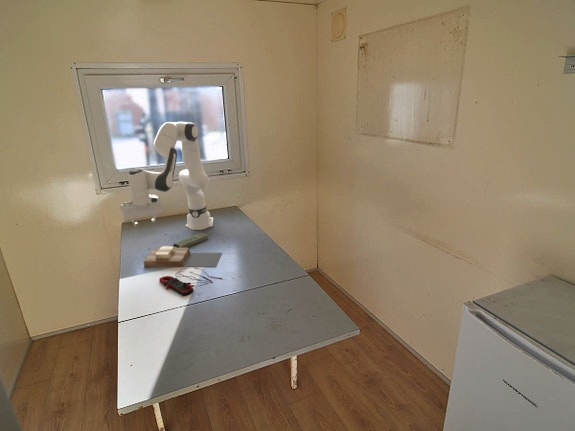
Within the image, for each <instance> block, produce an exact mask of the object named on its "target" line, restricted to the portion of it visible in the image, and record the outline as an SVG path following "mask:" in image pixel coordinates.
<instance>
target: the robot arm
mask: <svg viewBox="0 0 575 431" xmlns="http://www.w3.org/2000/svg"><path fill="white" fill-rule="evenodd" d="M199 132H200V131H199V128H198V126H197V124H195V123H194V122H190V121H189V122H187V121H177V122H176V121H175V122H172V121H171V122H170V121H168V122H164V123H163V124H162V125H161V127H160V128H159V129H158V132H157V134H156V137H155V138H154V142H153V148H154V149H155V150H154V151H156V152H157V153H158V154H159V155H160V156H162V157H164V158H165V160H164V161H165V162H164V166H163V170H162V171H160V172H156V171H149V170H145V168H142V167H137V168H132V169H130V170H129V171H128V176H127V177H128V180H127V181H128V187H129V190H130V197H131V198H130V200H131V201H126V202H122V203H121V204H120V205H119V208H120V211H121V217H122V219H123V220H124V221H131V222H132V223H133V226H134V227H138V226H139V224H138V222H137V221H136V222H135V219H139V218H146V217H151V216H153V217H152V219H151V223H152V224H154V223H156V219H157V217H158V216H157V215H161V214H163V213H164V207H163V204H162V202H161V201H160V198H159V196H157V194H150V191H159V192H164V193H166V192H169V191H170V190H171V189H172V188H173V185H174V175H175V174H174V173H175V169H176V165H177V159H178V152H177V150H176V145H177V143H178V142H180V147H181V148H180V150H181V157H182V162H183V165H185V167H186V169H182V170H181V171H180V172H179V174H178V180H179V182H180V183H181V185H182V186H183V189H184V191H185V195H186V198H187V204H188V207H187V211H188V214H187V215H186V222H187V223H186V224H185V228H188V229H189V230H192V231H193V230H194V231H200V230H205V229H208V228H212V227H213V226H214V217H211V213H210V211H208V208H207V207H208V206H207V203H206V200H205V197H206V196H205V194H204V193H203V191H202V190H205V189H207V188H208V187H209V186H210V182H211V179H210V177H209V175H208V174H207V173H206V171H205V167H203V163H202V161H201V153H200V152H201V151H200V150H201V149H200V145H199V139H198V136H199V134H200V133H199ZM149 190H150V191H149Z"/></svg>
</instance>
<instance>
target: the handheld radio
mask: <svg viewBox="0 0 575 431" xmlns="http://www.w3.org/2000/svg"><path fill="white" fill-rule="evenodd" d="M208 237H209V236H208V235H207V234H205V233H202V232H199V233H196V234H194V235H191V236H189V237H187V238H185V239H182V240H179V241H177V242H175V243H174V244H173V245H172V246H174V248H189V247H191V246H194V245H195V244H197V243H201V242H203V241H205V240H207V239H208Z"/></svg>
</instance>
